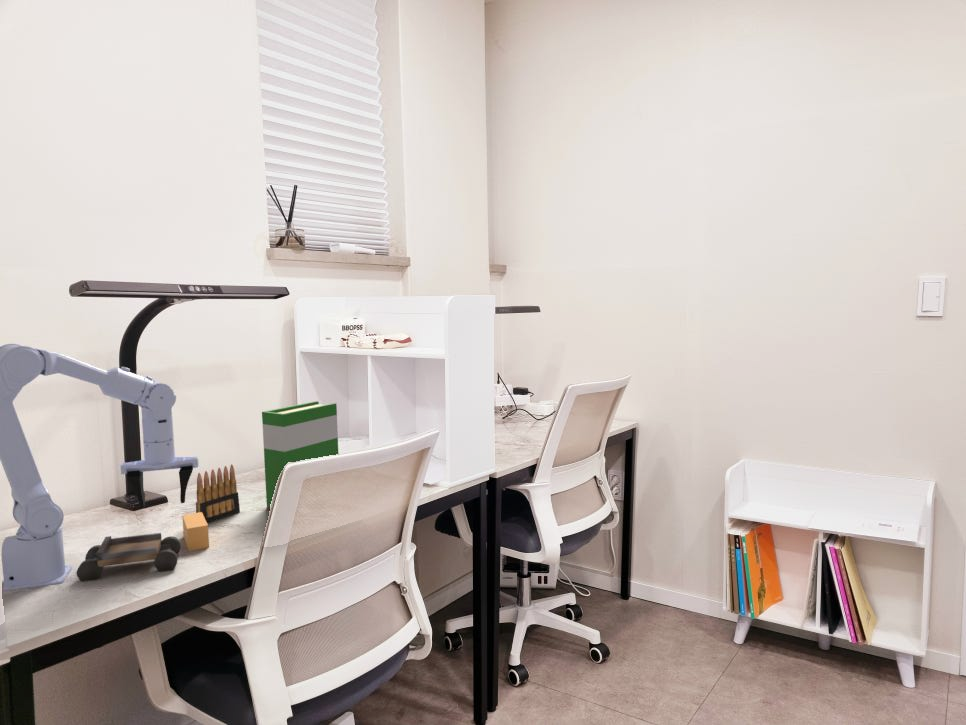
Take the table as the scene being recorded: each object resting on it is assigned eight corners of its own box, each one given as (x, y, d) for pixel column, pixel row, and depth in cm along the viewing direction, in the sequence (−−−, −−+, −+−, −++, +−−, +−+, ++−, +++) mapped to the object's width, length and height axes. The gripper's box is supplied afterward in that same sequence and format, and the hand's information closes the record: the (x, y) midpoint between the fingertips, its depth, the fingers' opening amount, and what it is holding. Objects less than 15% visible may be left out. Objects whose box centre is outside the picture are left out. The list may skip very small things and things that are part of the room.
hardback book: (319, 489, 187) (316, 401, 184) (340, 494, 183) (336, 403, 180) (266, 508, 172) (261, 411, 170) (287, 512, 168) (282, 414, 166)
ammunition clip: (235, 511, 170) (232, 462, 169) (240, 512, 169) (237, 463, 168) (196, 524, 162) (192, 473, 160) (201, 525, 161) (197, 474, 159)
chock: (188, 552, 145) (187, 528, 144) (183, 537, 153) (182, 515, 153) (209, 548, 147) (207, 525, 146) (203, 533, 155) (201, 512, 155)
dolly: (77, 584, 129) (75, 555, 129) (87, 566, 138) (85, 539, 137) (177, 570, 135) (175, 543, 134) (181, 554, 143) (179, 528, 143)
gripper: (116, 447, 138) (121, 513, 140) (195, 440, 143) (199, 505, 145) (122, 439, 145) (126, 503, 147) (197, 434, 150) (201, 495, 151)
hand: (163, 503), depth 146 cm, fingers open, 7 cm apart
